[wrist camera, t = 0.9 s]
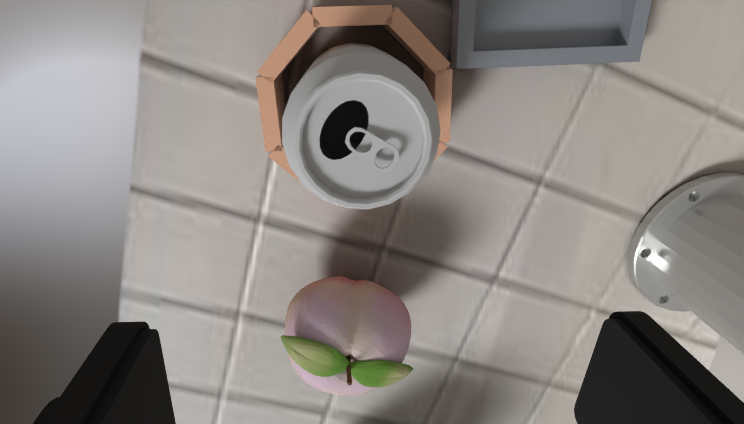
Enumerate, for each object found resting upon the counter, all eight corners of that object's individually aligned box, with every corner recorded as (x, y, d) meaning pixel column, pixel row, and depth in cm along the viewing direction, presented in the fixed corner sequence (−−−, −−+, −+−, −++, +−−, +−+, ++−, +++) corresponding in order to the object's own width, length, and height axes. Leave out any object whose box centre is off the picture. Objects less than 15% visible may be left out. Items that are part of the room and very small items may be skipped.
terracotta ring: (440, 4, 28) (455, 2, 24) (435, 175, 32) (447, 194, 29) (259, 11, 27) (246, 9, 23) (280, 183, 32) (272, 204, 28)
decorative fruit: (283, 326, 37) (264, 427, 28) (297, 243, 34) (282, 325, 25) (388, 340, 38) (404, 440, 29) (412, 262, 35) (438, 346, 26)
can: (335, 17, 27) (332, 15, 16) (430, 82, 29) (483, 117, 19) (280, 118, 30) (245, 174, 19) (371, 171, 32) (388, 249, 21)
